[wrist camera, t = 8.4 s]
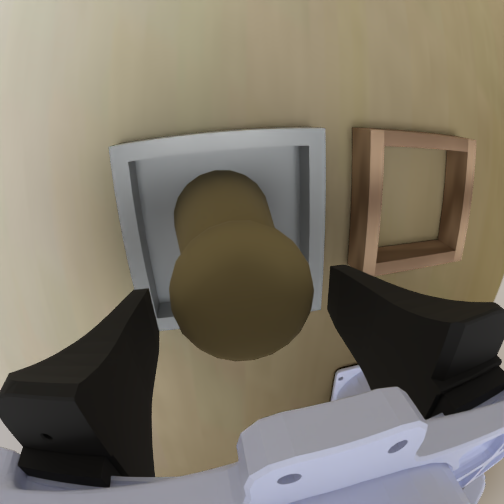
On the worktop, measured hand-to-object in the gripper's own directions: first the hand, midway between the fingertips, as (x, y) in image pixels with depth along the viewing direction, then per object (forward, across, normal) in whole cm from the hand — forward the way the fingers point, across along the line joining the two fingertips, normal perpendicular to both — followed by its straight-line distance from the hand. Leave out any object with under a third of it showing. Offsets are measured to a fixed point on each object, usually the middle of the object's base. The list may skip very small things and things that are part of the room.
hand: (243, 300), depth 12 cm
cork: (+9, 0, -1) cm, 9 cm away
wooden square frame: (+9, -14, -1) cm, 17 cm away
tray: (+9, 0, 0) cm, 9 cm away
